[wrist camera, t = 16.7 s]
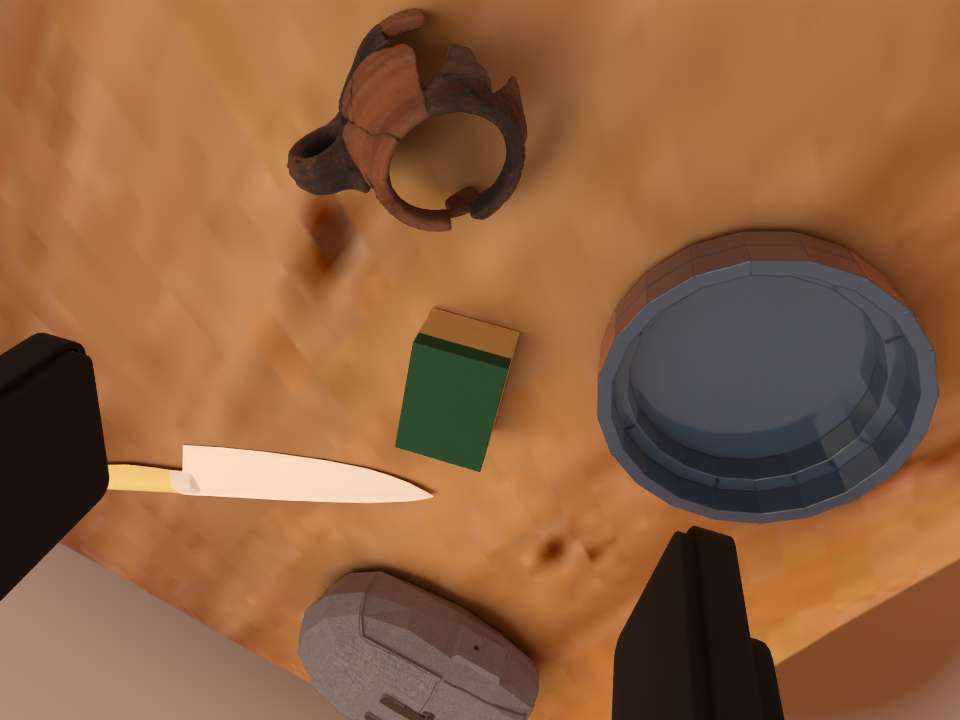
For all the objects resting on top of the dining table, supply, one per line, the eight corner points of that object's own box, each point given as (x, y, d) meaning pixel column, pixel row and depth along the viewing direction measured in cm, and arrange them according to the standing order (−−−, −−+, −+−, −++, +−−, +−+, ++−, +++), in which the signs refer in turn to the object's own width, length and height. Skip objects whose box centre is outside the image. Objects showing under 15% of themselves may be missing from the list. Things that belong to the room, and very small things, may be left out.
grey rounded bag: (564, 647, 56) (356, 529, 53) (553, 746, 49) (314, 615, 46) (474, 718, 64) (291, 618, 61) (454, 812, 57) (247, 703, 54)
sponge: (433, 307, 41) (412, 341, 38) (520, 331, 41) (508, 369, 37) (414, 407, 46) (394, 447, 42) (492, 430, 45) (480, 472, 42)
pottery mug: (464, -43, 32) (506, 36, 26) (523, 119, 39) (565, 205, 34) (246, 70, 33) (246, 164, 28) (341, 205, 41) (355, 299, 35)
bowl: (736, 164, 33) (748, 191, 30) (979, 342, 36) (1019, 388, 32) (548, 380, 42) (539, 422, 39) (752, 512, 44) (762, 564, 41)
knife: (432, 452, 48) (437, 506, 50) (51, 434, 56) (67, 482, 57) (426, 461, 47) (432, 516, 49) (39, 442, 55) (55, 491, 56)
